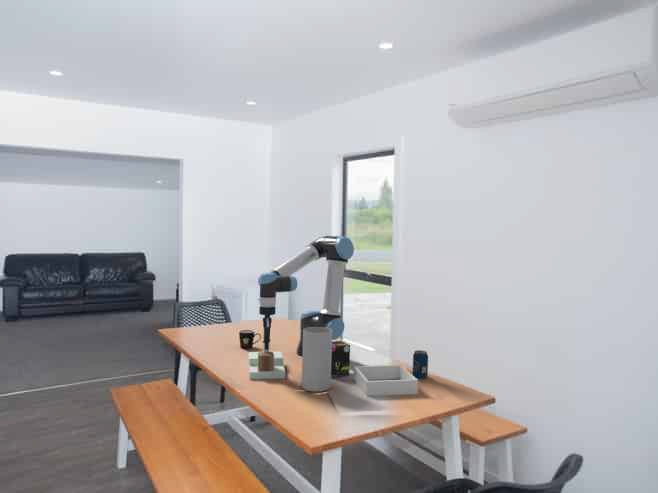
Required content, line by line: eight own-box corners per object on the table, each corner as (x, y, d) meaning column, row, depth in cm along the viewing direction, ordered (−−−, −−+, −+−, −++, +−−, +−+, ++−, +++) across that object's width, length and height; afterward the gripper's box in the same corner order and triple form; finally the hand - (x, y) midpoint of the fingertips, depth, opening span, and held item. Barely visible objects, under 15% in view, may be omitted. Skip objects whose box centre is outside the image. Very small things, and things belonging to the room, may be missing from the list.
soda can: (409, 375, 228) (410, 350, 228) (422, 374, 231) (423, 349, 230) (417, 380, 222) (418, 354, 221) (430, 378, 224) (431, 353, 224)
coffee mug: (235, 349, 267) (235, 331, 267) (243, 346, 275) (244, 329, 275) (253, 352, 263) (254, 334, 263) (261, 348, 271) (262, 331, 271)
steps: (280, 364, 242) (280, 351, 241) (285, 378, 219) (285, 364, 219) (248, 364, 239) (248, 352, 238) (249, 379, 216) (249, 365, 216)
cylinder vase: (320, 394, 199) (322, 334, 198) (295, 388, 206) (297, 330, 205) (336, 386, 210) (337, 329, 209) (312, 381, 216) (313, 325, 215)
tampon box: (329, 378, 221) (330, 346, 220) (320, 372, 229) (321, 342, 229) (349, 375, 226) (350, 344, 225) (340, 370, 234) (341, 340, 234)
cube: (273, 351, 226) (274, 355, 219) (272, 366, 226) (273, 370, 219) (257, 352, 224) (258, 356, 217) (257, 366, 225) (258, 371, 218)
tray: (399, 377, 224) (400, 365, 224) (417, 394, 203) (418, 380, 202) (353, 379, 220) (353, 366, 220) (366, 396, 198) (366, 381, 198)
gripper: (258, 303, 231) (257, 352, 231) (260, 308, 218) (258, 359, 219) (274, 303, 232) (273, 352, 233) (276, 308, 219) (275, 359, 220)
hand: (266, 355), depth 226 cm, fingers closed
